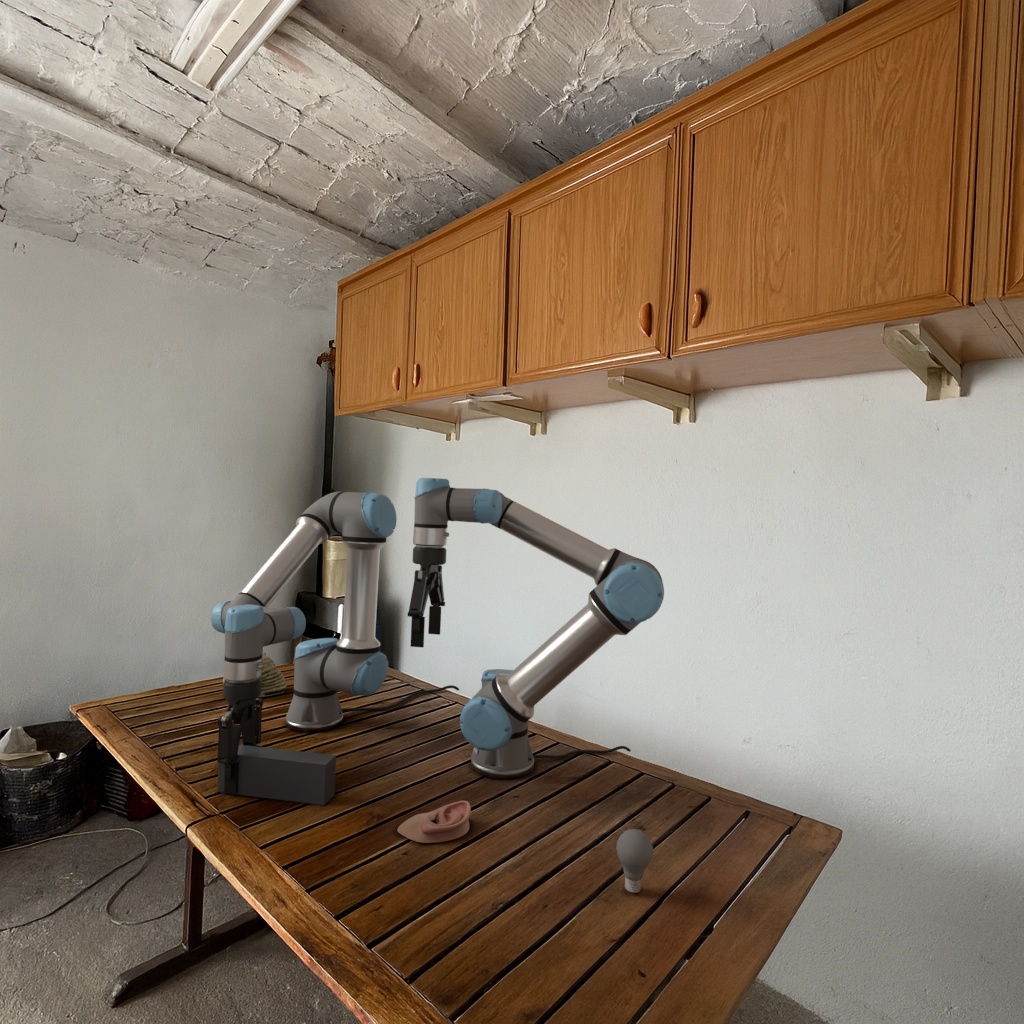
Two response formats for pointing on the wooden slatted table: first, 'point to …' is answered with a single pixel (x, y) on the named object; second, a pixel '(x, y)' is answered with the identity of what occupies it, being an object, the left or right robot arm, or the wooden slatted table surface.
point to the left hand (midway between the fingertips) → (238, 786)
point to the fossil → (270, 678)
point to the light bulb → (634, 857)
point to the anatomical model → (438, 824)
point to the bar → (283, 774)
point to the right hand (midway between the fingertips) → (426, 640)
